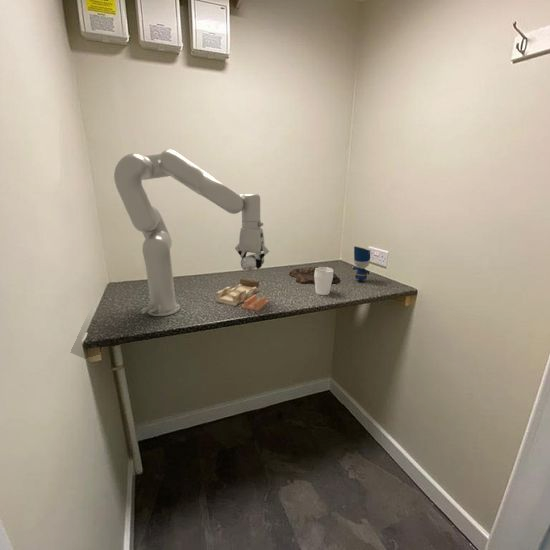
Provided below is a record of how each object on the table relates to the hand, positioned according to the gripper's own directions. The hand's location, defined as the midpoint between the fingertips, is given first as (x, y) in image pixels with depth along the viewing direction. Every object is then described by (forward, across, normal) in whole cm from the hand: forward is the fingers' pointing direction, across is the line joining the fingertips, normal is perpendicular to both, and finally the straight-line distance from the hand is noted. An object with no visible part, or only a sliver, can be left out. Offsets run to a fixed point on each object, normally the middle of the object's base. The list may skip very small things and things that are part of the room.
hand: (251, 266), depth 122 cm
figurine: (+17, -40, -51) cm, 66 cm away
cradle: (+17, -3, +2) cm, 17 cm away
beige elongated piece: (+17, +9, -4) cm, 19 cm away
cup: (+17, -26, -25) cm, 40 cm away
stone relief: (+17, -15, -48) cm, 53 cm away
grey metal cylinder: (+1, 0, -1) cm, 1 cm away
